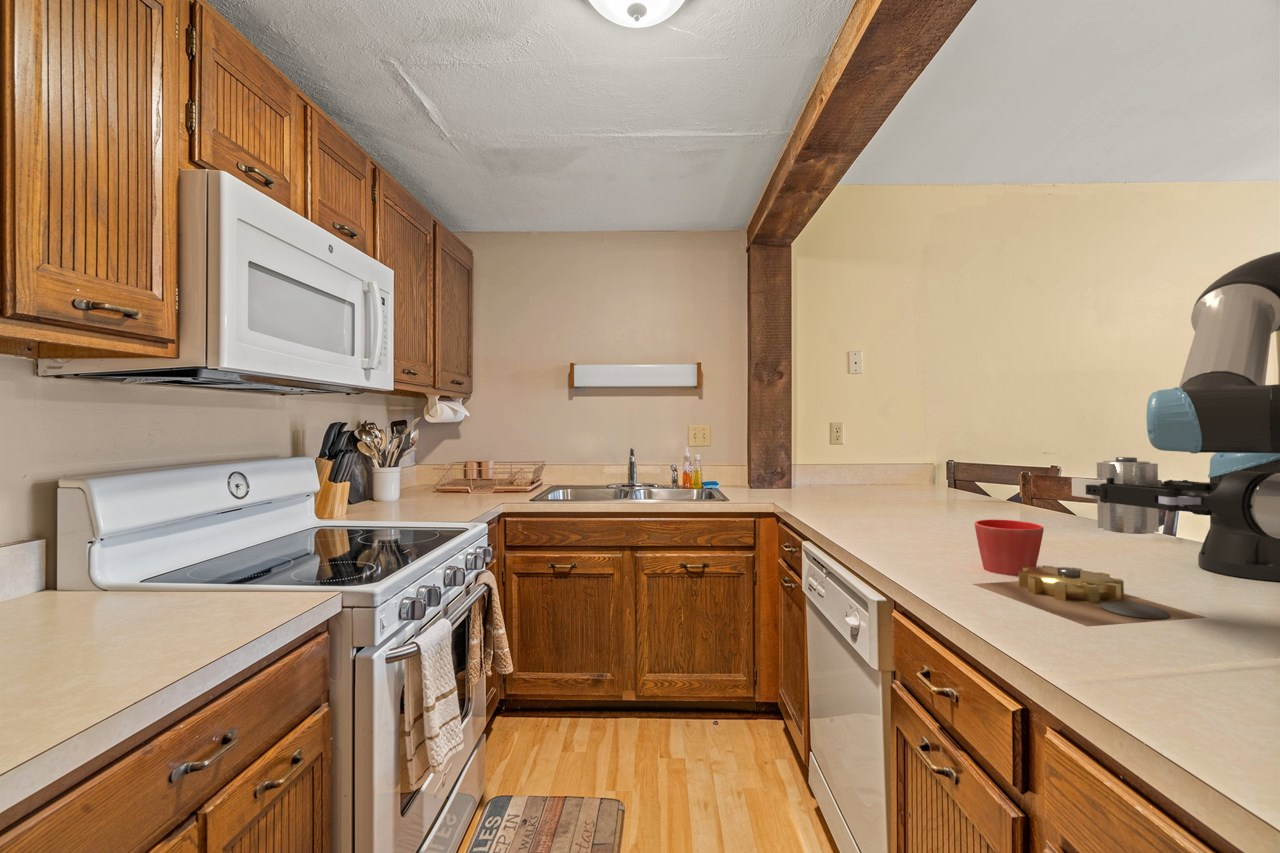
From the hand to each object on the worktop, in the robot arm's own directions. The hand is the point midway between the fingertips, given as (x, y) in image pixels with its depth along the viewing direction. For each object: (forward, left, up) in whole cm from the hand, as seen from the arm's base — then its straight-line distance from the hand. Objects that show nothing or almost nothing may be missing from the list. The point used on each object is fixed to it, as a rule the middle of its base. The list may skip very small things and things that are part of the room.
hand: (1095, 485), depth 91 cm
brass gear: (0, -6, -18) cm, 18 cm away
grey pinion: (0, +5, -6) cm, 8 cm away
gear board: (+2, -2, -19) cm, 19 cm away
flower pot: (-1, -20, -19) cm, 27 cm away
